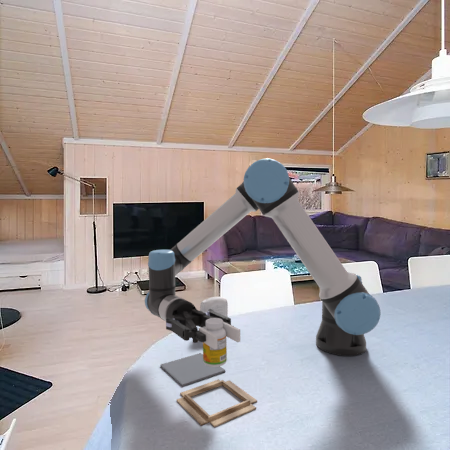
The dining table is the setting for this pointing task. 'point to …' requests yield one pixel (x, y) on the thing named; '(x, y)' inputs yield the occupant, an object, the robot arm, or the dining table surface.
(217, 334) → the supplement bottle
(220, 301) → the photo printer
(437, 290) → the dining table surface
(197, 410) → the square tan frame
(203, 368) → the slate mat
